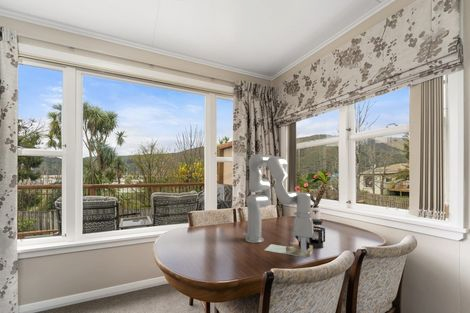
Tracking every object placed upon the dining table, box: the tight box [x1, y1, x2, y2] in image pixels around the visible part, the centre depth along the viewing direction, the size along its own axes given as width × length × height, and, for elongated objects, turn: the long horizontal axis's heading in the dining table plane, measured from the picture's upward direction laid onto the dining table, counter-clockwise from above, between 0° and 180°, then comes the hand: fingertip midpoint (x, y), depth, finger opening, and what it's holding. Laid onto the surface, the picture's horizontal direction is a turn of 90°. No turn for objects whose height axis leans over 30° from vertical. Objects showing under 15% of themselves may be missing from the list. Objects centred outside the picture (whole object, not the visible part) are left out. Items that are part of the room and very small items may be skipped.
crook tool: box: [301, 237, 307, 253], centre depth 135 cm, size 3×12×8 cm, turn 153°
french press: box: [310, 209, 326, 250], centre depth 153 cm, size 12×9×23 cm
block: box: [294, 241, 300, 248], centre depth 141 cm, size 5×5×5 cm
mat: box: [264, 243, 311, 259], centre depth 143 cm, size 26×13×1 cm, turn 63°
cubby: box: [286, 241, 314, 258], centre depth 141 cm, size 14×11×4 cm
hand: (304, 248), depth 132 cm, fingers closed on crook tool, 3 cm apart
